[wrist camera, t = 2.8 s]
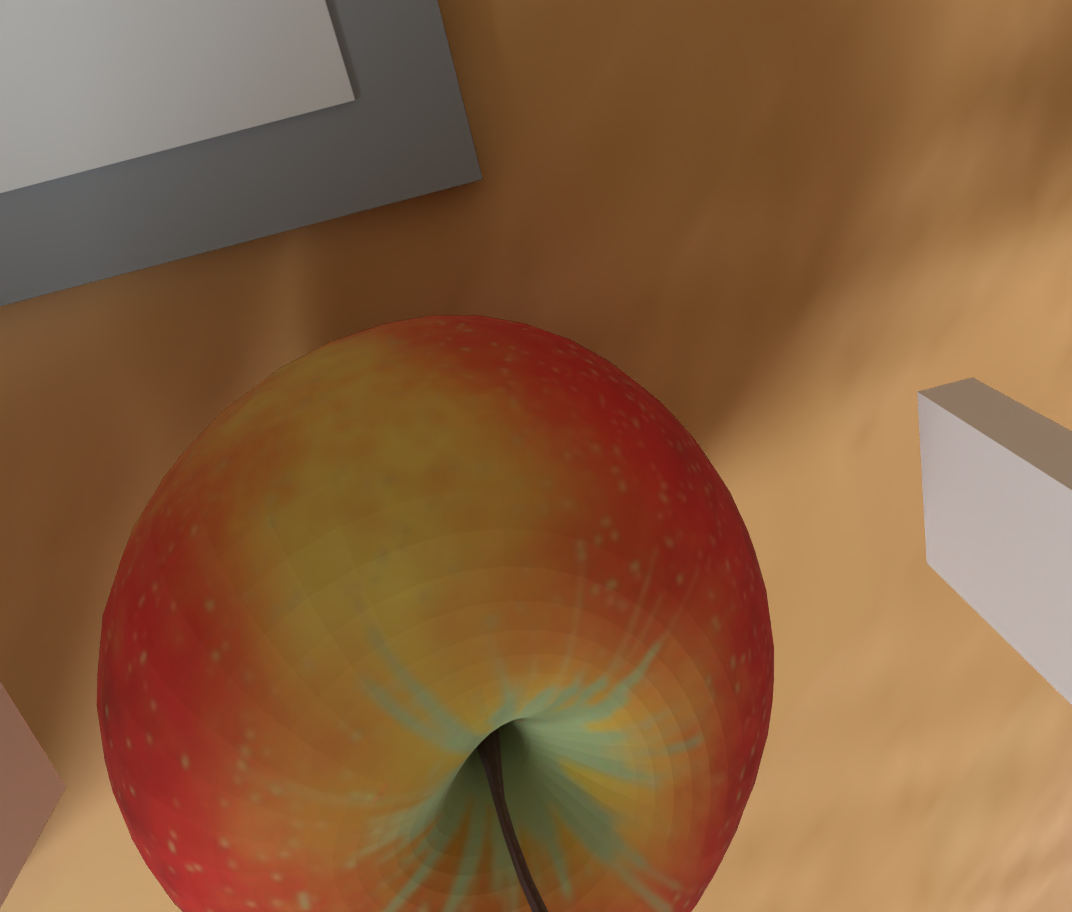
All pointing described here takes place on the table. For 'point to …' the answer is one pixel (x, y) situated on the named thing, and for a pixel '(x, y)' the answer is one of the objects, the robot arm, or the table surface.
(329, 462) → the apple
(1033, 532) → the robot arm
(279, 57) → the coaster
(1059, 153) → the table surface
